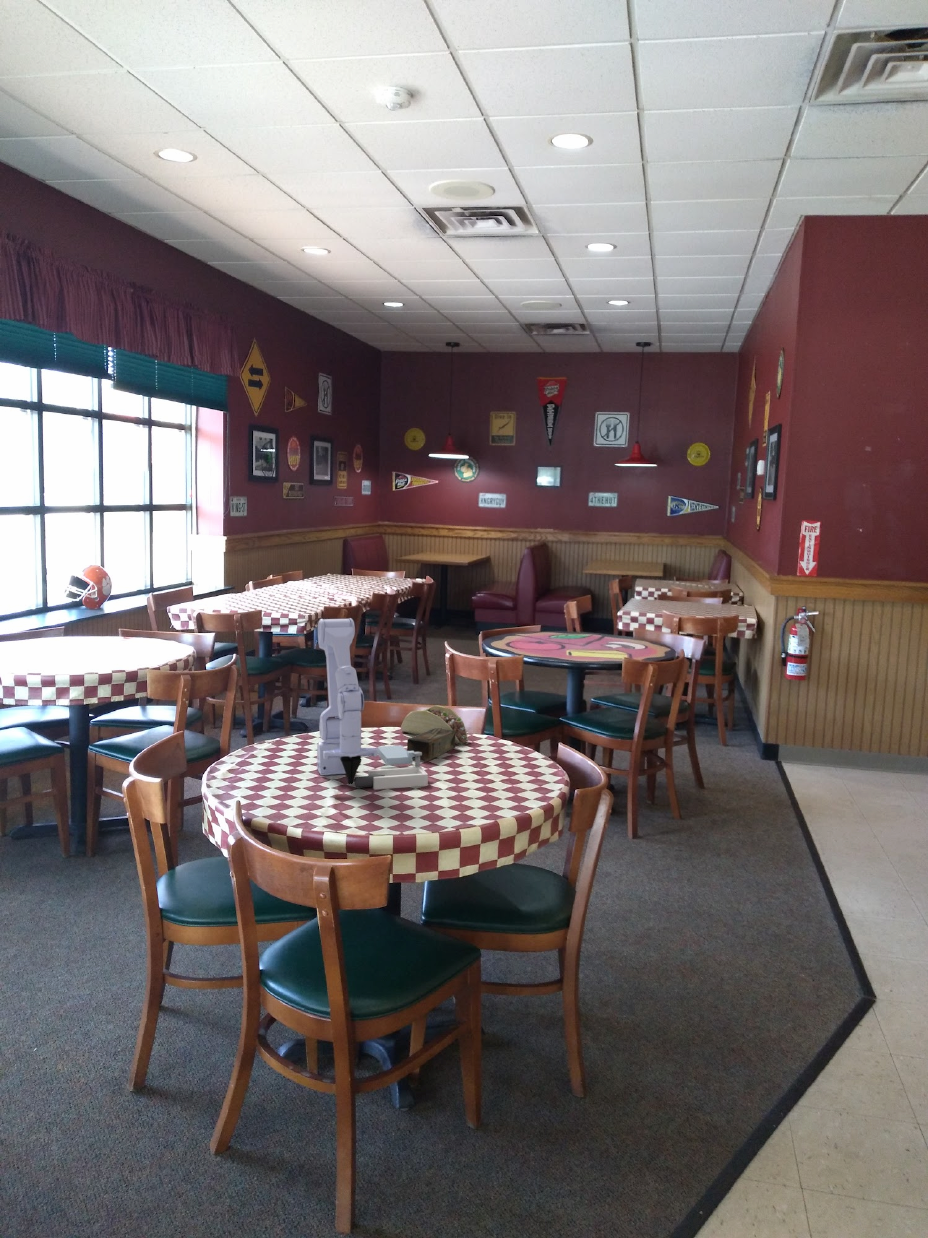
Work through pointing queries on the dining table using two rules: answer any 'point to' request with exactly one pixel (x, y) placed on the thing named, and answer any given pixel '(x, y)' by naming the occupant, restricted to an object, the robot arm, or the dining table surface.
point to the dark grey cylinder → (365, 781)
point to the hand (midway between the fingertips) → (350, 783)
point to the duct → (400, 777)
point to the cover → (396, 755)
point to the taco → (435, 722)
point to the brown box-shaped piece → (432, 743)
